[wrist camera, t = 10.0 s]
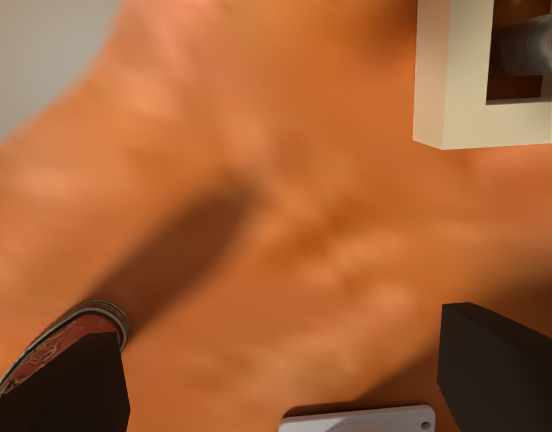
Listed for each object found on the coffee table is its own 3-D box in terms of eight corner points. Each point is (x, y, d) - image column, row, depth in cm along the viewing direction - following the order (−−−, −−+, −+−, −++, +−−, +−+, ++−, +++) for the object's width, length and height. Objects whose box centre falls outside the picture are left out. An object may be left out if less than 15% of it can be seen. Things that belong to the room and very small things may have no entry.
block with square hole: (569, 130, 20) (624, 138, 17) (412, 139, 19) (442, 149, 16) (593, -50, 18) (661, -75, 15) (419, -43, 17) (454, -68, 14)
